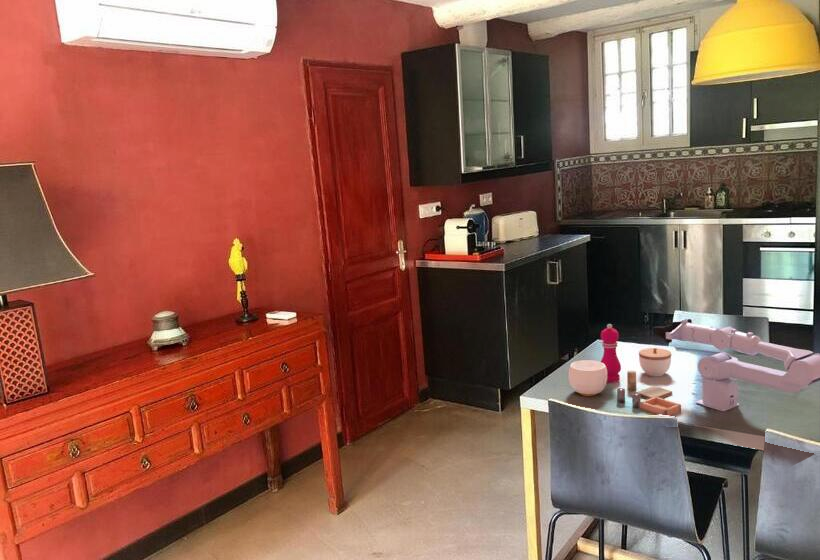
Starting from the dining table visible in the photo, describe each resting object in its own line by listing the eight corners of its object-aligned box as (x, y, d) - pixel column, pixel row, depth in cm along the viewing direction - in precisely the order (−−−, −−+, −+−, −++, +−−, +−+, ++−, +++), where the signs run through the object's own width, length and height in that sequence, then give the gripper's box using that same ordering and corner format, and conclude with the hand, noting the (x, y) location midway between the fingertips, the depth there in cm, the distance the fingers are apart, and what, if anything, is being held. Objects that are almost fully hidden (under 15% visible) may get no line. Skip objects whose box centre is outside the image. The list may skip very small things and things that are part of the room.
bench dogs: (642, 406, 209) (642, 394, 208) (637, 408, 208) (636, 396, 207) (620, 399, 216) (620, 387, 215) (615, 401, 215) (615, 389, 214)
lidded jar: (653, 380, 231) (653, 354, 229) (632, 372, 240) (632, 346, 239) (678, 375, 235) (678, 349, 233) (656, 366, 244) (656, 341, 243)
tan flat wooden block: (672, 396, 217) (672, 391, 217) (653, 402, 213) (653, 398, 212) (654, 390, 223) (654, 385, 223) (635, 396, 219) (635, 392, 218)
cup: (579, 402, 216) (578, 373, 214) (563, 389, 228) (562, 362, 226) (614, 396, 218) (614, 368, 217) (596, 384, 230) (596, 357, 229)
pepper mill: (604, 375, 239) (603, 320, 236) (624, 378, 235) (623, 322, 231) (596, 381, 234) (595, 325, 230) (616, 384, 229) (615, 327, 226)
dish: (681, 411, 203) (681, 404, 203) (665, 417, 200) (665, 410, 199) (655, 403, 211) (655, 396, 211) (640, 408, 207) (640, 402, 207)
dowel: (638, 389, 224) (638, 372, 223) (632, 391, 222) (632, 374, 221) (631, 387, 226) (631, 370, 225) (625, 389, 225) (625, 372, 223)
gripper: (712, 316, 211) (675, 311, 223) (682, 325, 204) (646, 320, 216) (713, 338, 212) (676, 332, 224) (683, 348, 205) (647, 341, 217)
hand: (661, 327), depth 220 cm, fingers open, 7 cm apart
